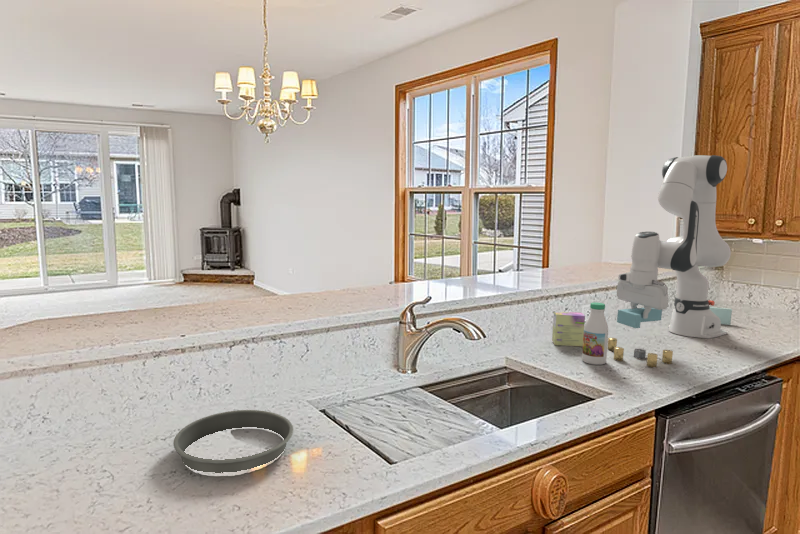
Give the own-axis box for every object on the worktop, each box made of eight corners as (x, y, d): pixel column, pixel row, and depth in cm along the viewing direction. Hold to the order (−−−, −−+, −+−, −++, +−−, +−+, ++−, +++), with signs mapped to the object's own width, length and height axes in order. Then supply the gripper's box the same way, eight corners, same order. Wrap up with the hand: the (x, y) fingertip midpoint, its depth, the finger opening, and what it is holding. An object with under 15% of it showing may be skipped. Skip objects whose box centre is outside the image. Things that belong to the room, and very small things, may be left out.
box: (579, 342, 200) (581, 312, 199) (583, 346, 195) (585, 315, 193) (551, 341, 201) (553, 311, 200) (554, 345, 196) (556, 314, 194)
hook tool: (655, 318, 192) (656, 306, 191) (675, 324, 184) (676, 311, 183) (616, 322, 185) (617, 309, 184) (635, 328, 177) (636, 315, 177)
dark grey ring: (285, 480, 104) (285, 459, 103) (156, 485, 102) (154, 463, 101) (299, 425, 128) (299, 407, 127) (194, 428, 126) (194, 409, 125)
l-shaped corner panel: (730, 326, 230) (732, 309, 229) (698, 322, 235) (700, 306, 234) (726, 320, 241) (728, 304, 240) (696, 317, 246) (698, 301, 245)
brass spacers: (626, 346, 196) (627, 335, 196) (676, 364, 176) (678, 352, 175) (591, 350, 190) (592, 339, 190) (638, 369, 170) (639, 357, 169)
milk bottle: (588, 356, 183) (592, 300, 180) (610, 361, 178) (614, 303, 175) (577, 361, 178) (581, 303, 175) (599, 367, 172) (604, 307, 169)
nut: (637, 354, 186) (638, 347, 186) (648, 357, 183) (648, 350, 182) (631, 356, 185) (631, 349, 184) (641, 359, 181) (642, 352, 181)
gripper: (674, 282, 177) (671, 323, 179) (628, 273, 196) (625, 310, 197) (660, 283, 174) (656, 324, 176) (615, 274, 193) (612, 311, 195)
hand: (639, 316), depth 187 cm, fingers closed on hook tool, 2 cm apart
